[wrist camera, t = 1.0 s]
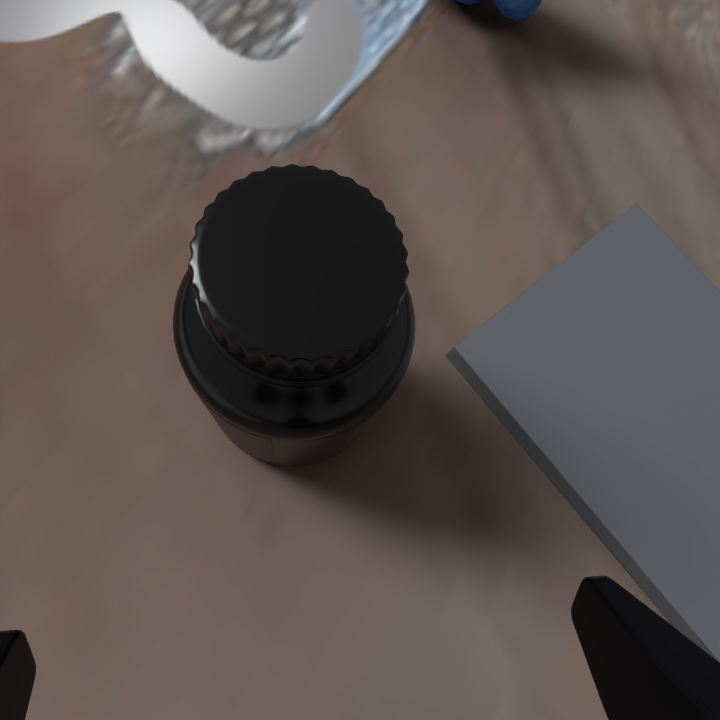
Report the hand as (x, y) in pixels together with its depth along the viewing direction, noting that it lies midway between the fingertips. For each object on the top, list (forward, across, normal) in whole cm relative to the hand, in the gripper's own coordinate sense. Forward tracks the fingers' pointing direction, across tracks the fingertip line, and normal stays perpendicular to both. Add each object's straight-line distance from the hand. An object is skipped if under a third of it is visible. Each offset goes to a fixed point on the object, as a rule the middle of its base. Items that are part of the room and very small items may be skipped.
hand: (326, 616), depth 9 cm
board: (+12, -18, +6) cm, 22 cm away
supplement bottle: (+14, 0, +4) cm, 15 cm away
